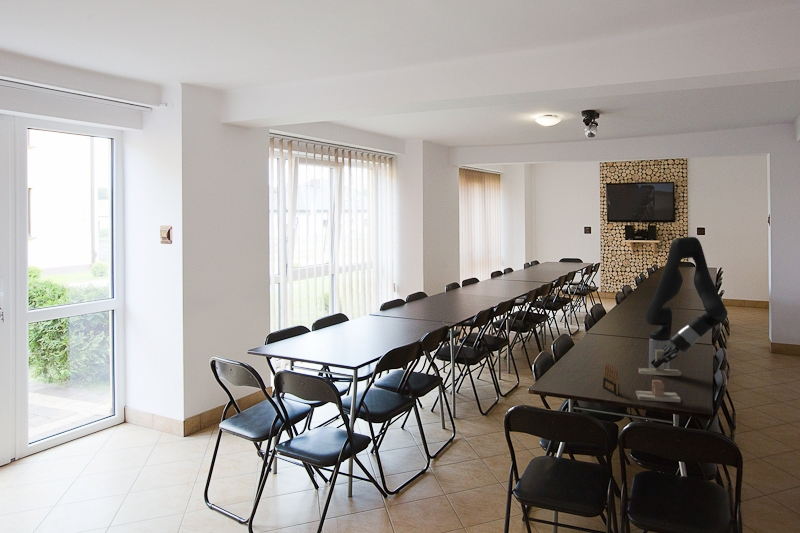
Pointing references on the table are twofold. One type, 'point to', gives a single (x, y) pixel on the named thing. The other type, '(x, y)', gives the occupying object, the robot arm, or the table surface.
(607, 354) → the table surface
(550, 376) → the table surface
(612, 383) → the ammunition clip
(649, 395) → the stand
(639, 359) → the table surface
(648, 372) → the maple T-beam
